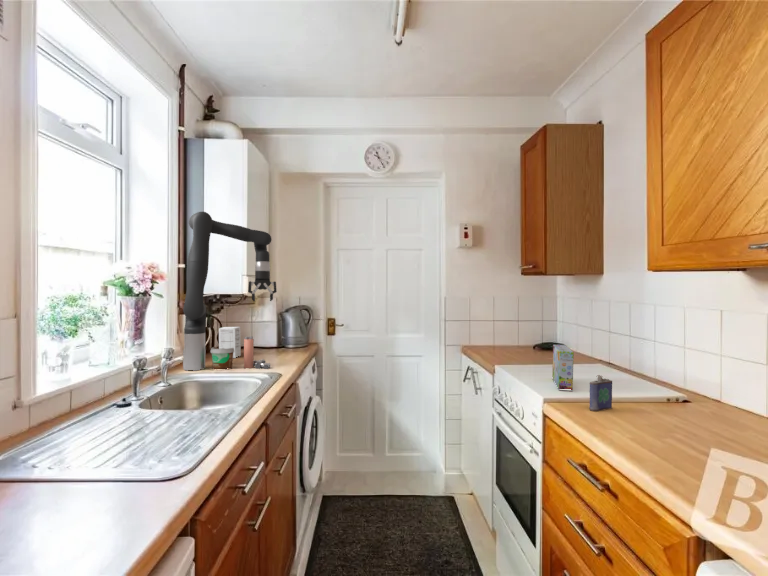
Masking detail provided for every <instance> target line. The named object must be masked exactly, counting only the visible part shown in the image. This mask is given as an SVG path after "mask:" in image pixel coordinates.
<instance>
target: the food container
mask: <svg viewBox="0 0 768 576" xmlns="http://www.w3.org/2000/svg"><path fill="white" fill-rule="evenodd" d="M209 352H210V354H211V360H212V361H211V362H212V369H213V368H214V369H213V370H215V369H225V370H228V369H227V368H231V369H233V360H234V358H233V352H234V348H229V349H224V348H222V349H219V348H215V346H213V347H211V348H210V351H209Z"/></svg>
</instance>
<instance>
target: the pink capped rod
mask: <svg viewBox="0 0 768 576" xmlns="http://www.w3.org/2000/svg"><path fill="white" fill-rule="evenodd" d="M254 341H255V340H254V337H253V336H245V337H244V339H243V369H246V368H249V369H254V366H253V361H254Z"/></svg>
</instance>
